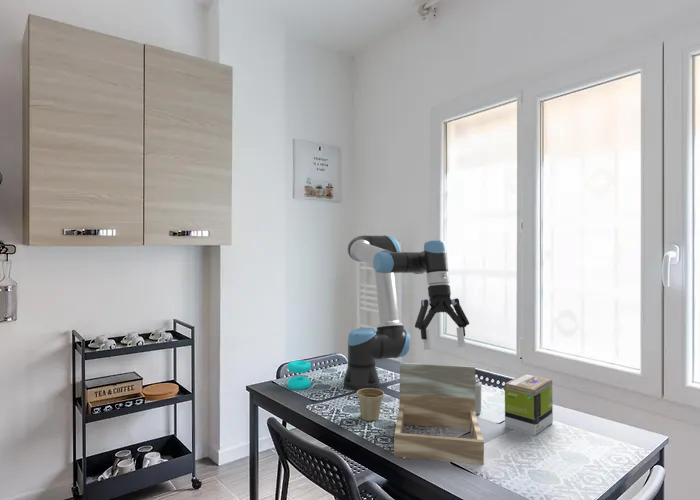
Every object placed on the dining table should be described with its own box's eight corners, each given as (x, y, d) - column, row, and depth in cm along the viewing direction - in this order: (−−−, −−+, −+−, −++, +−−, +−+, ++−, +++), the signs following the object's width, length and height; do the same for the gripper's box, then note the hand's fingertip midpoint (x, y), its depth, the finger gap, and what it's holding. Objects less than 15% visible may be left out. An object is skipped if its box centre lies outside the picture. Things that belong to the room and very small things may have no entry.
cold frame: (399, 422, 146) (400, 362, 146) (474, 428, 142) (474, 366, 142) (394, 456, 123) (394, 384, 122) (483, 464, 119) (484, 390, 118)
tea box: (523, 415, 154) (524, 372, 154) (553, 423, 147) (554, 379, 147) (503, 427, 143) (504, 381, 143) (534, 437, 136) (535, 389, 136)
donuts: (308, 366, 176) (284, 365, 178) (308, 391, 177) (283, 390, 178) (313, 360, 186) (290, 359, 188) (313, 383, 186) (290, 382, 188)
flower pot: (384, 413, 154) (384, 388, 154) (383, 424, 145) (384, 397, 145) (357, 412, 155) (357, 387, 155) (355, 422, 146) (355, 396, 146)
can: (477, 417, 151) (478, 382, 151) (456, 413, 155) (456, 379, 155) (483, 411, 157) (483, 377, 157) (462, 406, 161) (463, 374, 161)
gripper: (412, 284, 144) (418, 350, 140) (475, 283, 153) (482, 345, 149) (401, 287, 151) (406, 350, 147) (462, 285, 160) (468, 345, 156)
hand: (444, 348), depth 148 cm, fingers open, 13 cm apart
